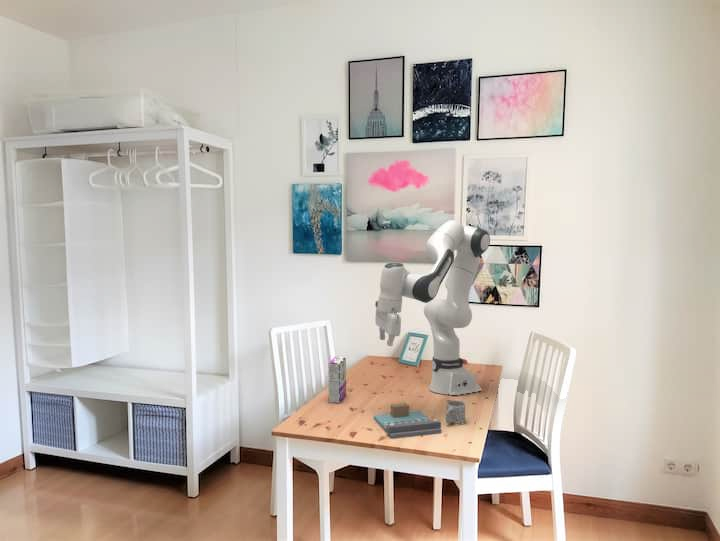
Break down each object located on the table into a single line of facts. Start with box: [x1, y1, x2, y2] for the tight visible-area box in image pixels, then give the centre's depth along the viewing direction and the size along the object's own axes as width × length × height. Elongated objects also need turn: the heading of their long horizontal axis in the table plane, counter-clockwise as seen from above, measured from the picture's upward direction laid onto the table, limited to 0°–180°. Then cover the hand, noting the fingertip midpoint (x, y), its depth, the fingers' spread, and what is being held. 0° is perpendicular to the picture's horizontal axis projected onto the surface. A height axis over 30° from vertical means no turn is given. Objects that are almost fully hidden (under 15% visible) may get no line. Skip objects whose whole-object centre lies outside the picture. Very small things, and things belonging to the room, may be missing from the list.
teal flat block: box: [373, 402, 430, 428], centre depth 194 cm, size 18×9×5 cm, turn 106°
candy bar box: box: [328, 355, 347, 404], centre depth 218 cm, size 11×5×16 cm, turn 168°
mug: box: [445, 400, 466, 425], centre depth 192 cm, size 10×7×7 cm
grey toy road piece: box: [381, 418, 442, 439], centre depth 184 cm, size 19×10×4 cm, turn 106°
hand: (385, 342), depth 201 cm, fingers open, 8 cm apart
